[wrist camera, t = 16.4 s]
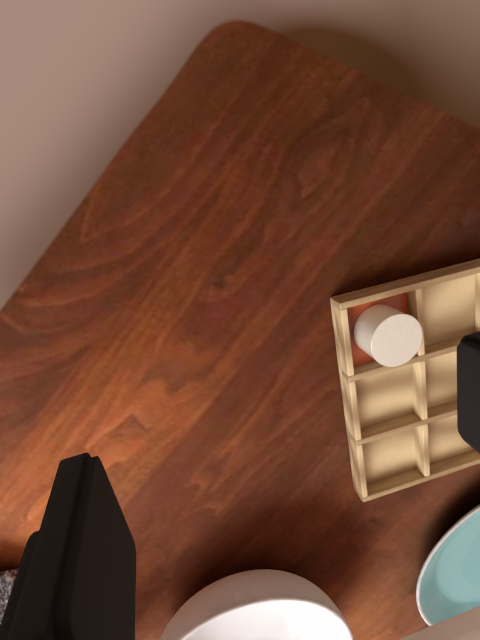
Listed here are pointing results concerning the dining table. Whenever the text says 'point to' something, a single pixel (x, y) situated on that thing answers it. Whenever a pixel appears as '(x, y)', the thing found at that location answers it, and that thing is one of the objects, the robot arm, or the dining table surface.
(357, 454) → the wooden compartment tray
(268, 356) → the dining table surface
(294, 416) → the dining table surface
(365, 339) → the white cylinder puck
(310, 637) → the serving bowl
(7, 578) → the rock
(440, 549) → the plate
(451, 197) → the dining table surface
